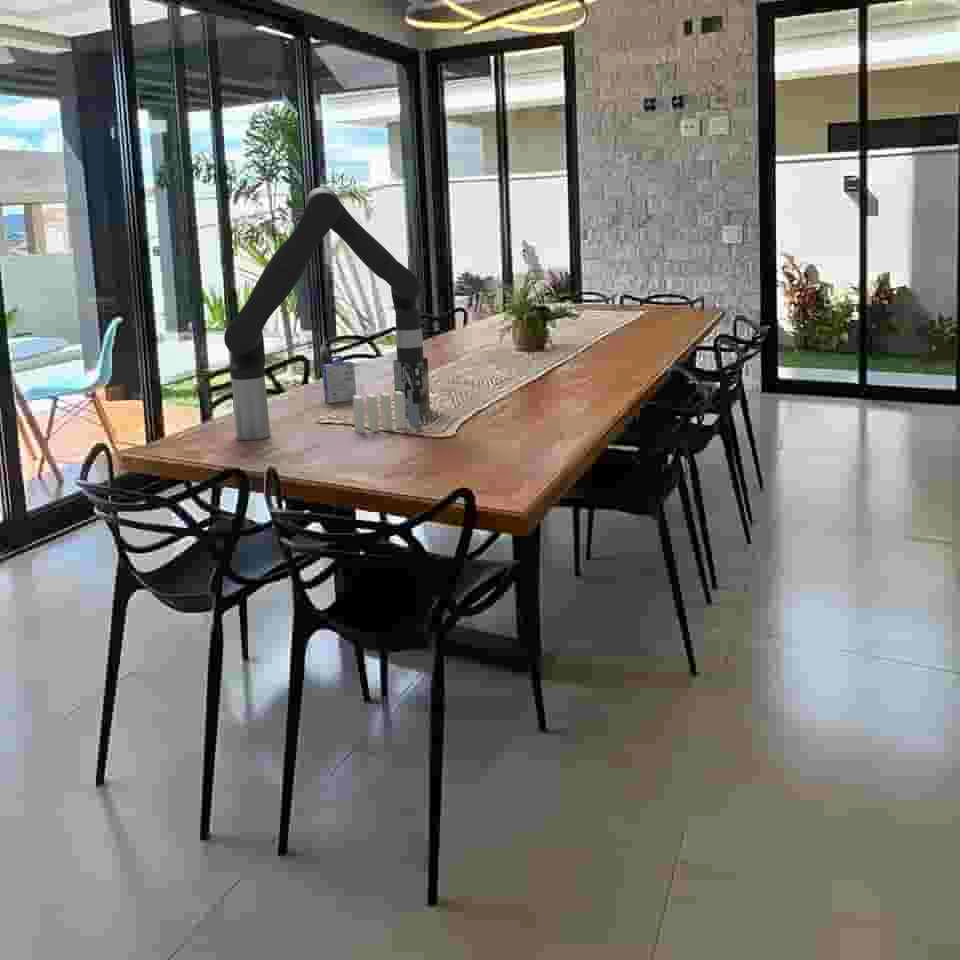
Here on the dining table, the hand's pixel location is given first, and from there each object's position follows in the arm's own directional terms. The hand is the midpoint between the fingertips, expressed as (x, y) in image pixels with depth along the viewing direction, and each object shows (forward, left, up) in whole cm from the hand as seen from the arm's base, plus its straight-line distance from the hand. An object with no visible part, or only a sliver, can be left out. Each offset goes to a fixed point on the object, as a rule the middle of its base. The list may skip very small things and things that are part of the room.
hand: (412, 400), depth 315 cm
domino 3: (-8, 0, -7) cm, 11 cm away
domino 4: (-4, 0, -7) cm, 8 cm away
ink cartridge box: (-12, +48, -7) cm, 50 cm away
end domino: (0, 0, -7) cm, 7 cm away
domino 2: (-12, 0, -7) cm, 14 cm away
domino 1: (-16, 0, -7) cm, 18 cm away
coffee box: (+5, +20, -7) cm, 22 cm away
